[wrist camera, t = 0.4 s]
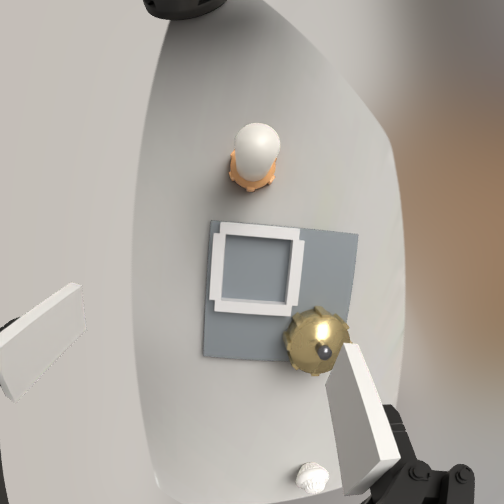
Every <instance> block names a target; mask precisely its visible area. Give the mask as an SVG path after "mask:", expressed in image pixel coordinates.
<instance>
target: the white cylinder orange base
mask: <svg viewBox="0 0 504 504" xmlns="http://www.w3.org/2000/svg"><path fill="white" fill-rule="evenodd" d="M279 150H280V139H279V136H278V134H277V133H276V132H275V130H274V129H273V128H271V127H270V126H268V125H266V124H262V123H252V124H248V125H246V126H244V127H243V128H242V129H241V130H240V131H239V132H238V133H237V135H236V138H235V149H234V151H233V152H232V153H231V155H230V156H231V164H230V167H231V172H229V176H230V178H231V180H232V181H234V180H235V181H236V183H237V184H239V185H240V186H241V187H243V188H246V189H247V191H248V192H254V190H255V189H259V188H261V187H263V186H265V185H266V184H267V183H268V184H269V185H270V184H271V182H272V181H273V180H274V178H275V176H274V172H275V162H276V160H277V158H276V157H277V155H278V153H279Z"/></svg>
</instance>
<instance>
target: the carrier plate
mask: <svg viewBox="0 0 504 504" xmlns="http://www.w3.org/2000/svg"><path fill="white" fill-rule="evenodd" d="M357 244H358V234H352V233H343V232H334V231H325V230H315V229H305V228H295V227H285V226H274V225H263V224H251V223H239V222H227V221H214V220H211V226H210V239H209V253H208V268H207V284H206V303H205V325H204V355H203V356H210V357H221V358H233V359H248V360H267V361H290V359H289V357H288V354H287V352H288V351H289V350H287V349H286V346H285V344H284V341H283V331H286V332H287V329H288V326H289V324H290V323H291V321H292V320H293V318H292V316H293V315H295V314H296V313H297V312H299V314H300V313H302V312H304V311H307V310H310V309H314V306H322V307H323V308H324V309H325V310H326V311H328V312H330V313H331V314H332V315H334V314H335V313H336V314H337V315H338V316H339V317H340V318H341V319H342V320H344V321H345V322H347V317H348V311H349V305H350V298H351V292H352V285H353V278H354V270H355V262H356V253H357Z"/></svg>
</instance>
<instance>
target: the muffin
mask: <svg viewBox="0 0 504 504" xmlns="http://www.w3.org/2000/svg"><path fill="white" fill-rule="evenodd" d="M328 479H329V473H328V471H326V470H325V468H323V467H322V466H320V465H318V464H317V463H314V462H309V463H306V464H304V465H303V466H302V467H301V468H300V470H299V473H298V475H297V479H296V485H297V486H298V487H299V488H301V489H304V490H305V491H306V492H307V493H309V494H316V493H319V492H321V491H322V490H323V489H324V488H325V484H326V482H327V481H328Z"/></svg>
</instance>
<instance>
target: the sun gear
mask: <svg viewBox="0 0 504 504" xmlns="http://www.w3.org/2000/svg"><path fill="white" fill-rule="evenodd" d="M292 318H293V320H292V321H291V323H290V324H289V326H288V329H287V332H286V331H283V341H284V344H285V346H286V349H287V350H289V351H288V352H287V354H288V357H289V359H290V362H291V365H292V366H293V367H294V368H295V369H296V370H298V369H301V370H302V371H304V372H307V373H310V374H311V376H319V374H320V373H325V372H328V371H330V370H332V369H333V366H334V364H335V362H336V359H337V357H338V355H339V352H340V350H341V347H342V345H343V343H351V344H353V343H352V342H351V341H350V337H349V333H348V331H347V329H349V326H348V325H347V324H346V322H345V321H344V320H342V319H341V318H340V317H339V316H338V315H337V314H336V313H335V314H334V315H332V314H331V313H330V312H328V311H326V310H325V309H324V308H323V307H322V306H314V309H310V310H307V311H304V312H302V313H300V314H299V312H297V313H296V314H295V315H293V316H292Z"/></svg>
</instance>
